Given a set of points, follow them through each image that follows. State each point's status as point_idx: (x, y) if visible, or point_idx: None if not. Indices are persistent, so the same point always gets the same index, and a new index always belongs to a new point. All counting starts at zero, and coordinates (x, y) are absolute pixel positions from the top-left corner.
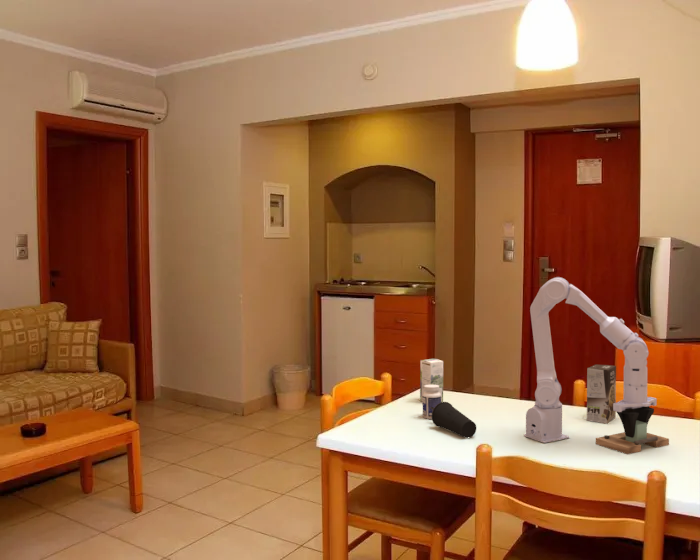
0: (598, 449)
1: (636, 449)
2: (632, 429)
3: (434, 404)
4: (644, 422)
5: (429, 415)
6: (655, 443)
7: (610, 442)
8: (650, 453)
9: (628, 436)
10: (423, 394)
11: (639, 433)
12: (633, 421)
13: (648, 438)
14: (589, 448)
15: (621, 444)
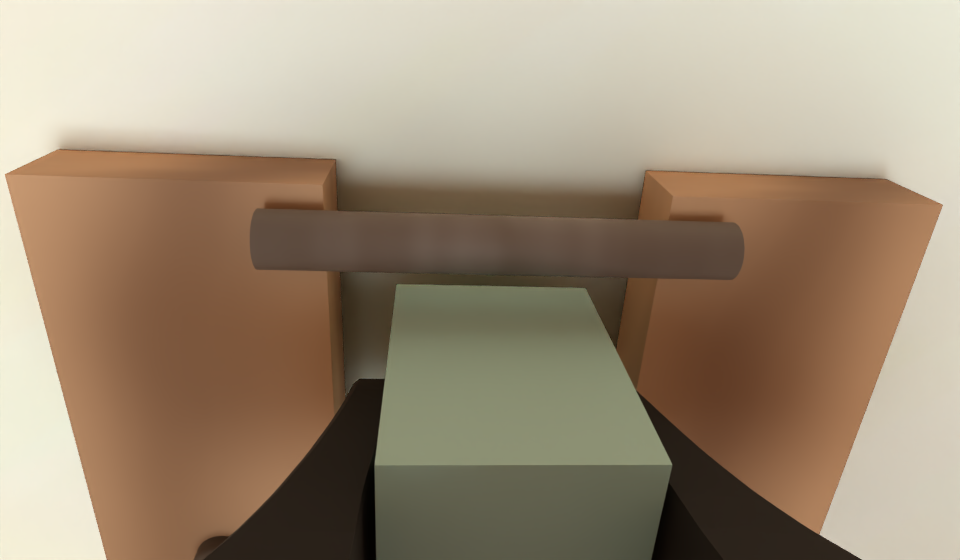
0: (917, 434)
1: (747, 183)
2: (698, 447)
3: None
4: (385, 506)
5: None
6: (328, 190)
7: (849, 441)
8: (639, 40)
9: None
10: None
11: (572, 360)
12: (809, 544)
13: (464, 243)
14: (941, 488)
15: (840, 336)
